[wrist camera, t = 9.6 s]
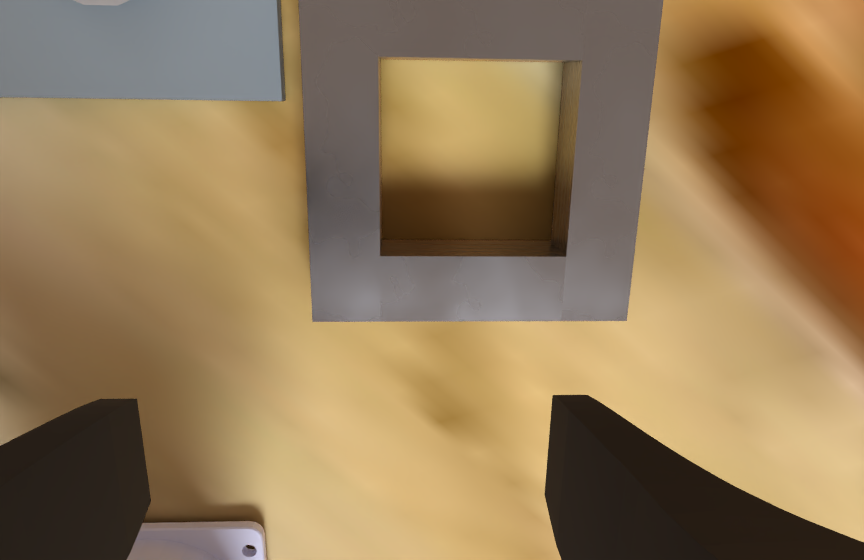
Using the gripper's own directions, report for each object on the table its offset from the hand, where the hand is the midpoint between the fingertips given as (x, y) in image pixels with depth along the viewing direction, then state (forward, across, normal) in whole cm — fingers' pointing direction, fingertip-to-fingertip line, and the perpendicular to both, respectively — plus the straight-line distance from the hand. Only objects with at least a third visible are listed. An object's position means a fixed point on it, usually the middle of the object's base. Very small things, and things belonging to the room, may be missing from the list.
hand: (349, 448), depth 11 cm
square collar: (+10, -3, -4) cm, 11 cm away
